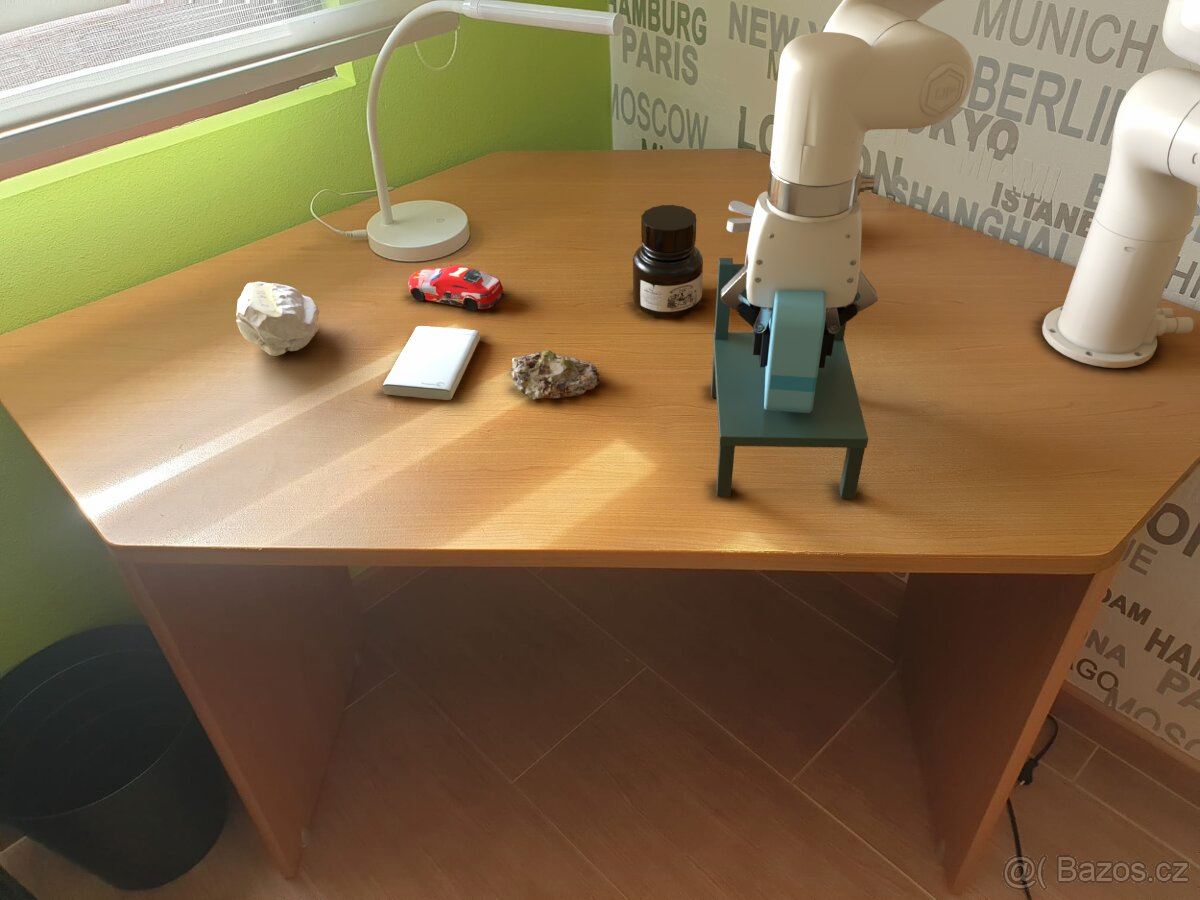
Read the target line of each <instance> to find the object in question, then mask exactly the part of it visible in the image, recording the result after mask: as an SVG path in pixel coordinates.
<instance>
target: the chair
mask: <svg viewBox="0 0 1200 900" xmlns="http://www.w3.org/2000/svg"><path fill="white" fill-rule="evenodd" d="M744 266H745V263H734V259H733V257H719V258H718V267H717V284H716V286H717V287H716V301H715V319H714V331H713V334H712V344H713V345H712V347H713V348H712V349H713V351H712V365H711V367H712V368H711V381H710V382H711V384H710V385H711V386H710V397H711V398H716V412H717V426H718V427H717V428H718V458H717V469H716V470H717V471H716V484H715V489H716V497H723V498H724V497H725V498H727V497H731V496H732V485H733V473H734V462H735V461H734V460H735V450H736V447H772V448H773V447H774V448H775V447H777V448H778V447H779V448H831V449H832V448H833V449H835V448H836V449H837V448H838V449H839V448H840V449H841V448H842V449H846V452H845V456H844V461H843V468H842V472H841V478H840V483H839V488H838V490H839V495H840V499H842V500H843V499H844V500H845V499H847V500H849V499H850V500H855V499H856V496H857V489H858V485H859V480H860V475H861V469H862V465H863V461H864V455H865V451H866V449H867V447H868V442H869V435H868V433H867V428H866V423H865V419H864V415H863V411H862V408H861V403H860V400H859V395H858V390H857V388H856V384H855V383H856V382H855V378H854V374H853V371H852V366H851V363H850V358H849V354H848V351H847V346H846V342H845V339H844V338H845V333H846V327H847V322H846V323H845V324H843V325H842V326H841V327H840V331H839V332H838V333H835V337H834V343H833V350H832V355H831V356H826V359H825V366H824V368H818V375H817V381H816V388H815V395H814V402H813V408H812V411H811V412H810V413H799V412H785V411H771V410H765V408H764V398H765V373H766V366H765V367H760V365H759V357H758V355H753V354H752V341H753V331H752V332H751V331H729V329H730V316H731V308H730V307H729V306H727V305H726V304H724V303H723V302H722V301H721V296H720V291H721V289H722V288H723V287H724V286H725V285H726V284H727V283H728V282H729V281H730V280H731V279H732V278H733V277H734V276H735V275H736V274H737V273H738V272H739V271H740V270H741V269H742V268H743V267H744ZM741 295H742V296H743V297H746V298H747V290H746V289H745V290H744V291H743V292H742V293H741Z"/></svg>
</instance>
